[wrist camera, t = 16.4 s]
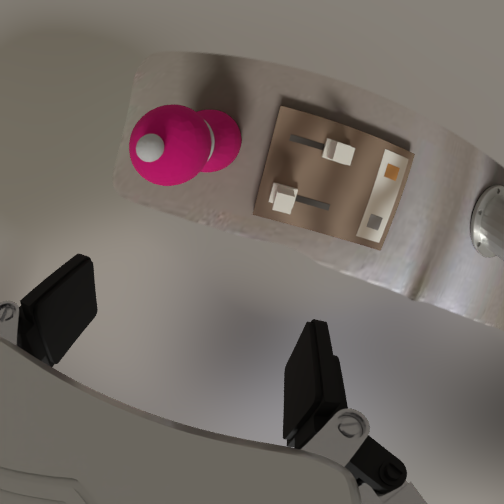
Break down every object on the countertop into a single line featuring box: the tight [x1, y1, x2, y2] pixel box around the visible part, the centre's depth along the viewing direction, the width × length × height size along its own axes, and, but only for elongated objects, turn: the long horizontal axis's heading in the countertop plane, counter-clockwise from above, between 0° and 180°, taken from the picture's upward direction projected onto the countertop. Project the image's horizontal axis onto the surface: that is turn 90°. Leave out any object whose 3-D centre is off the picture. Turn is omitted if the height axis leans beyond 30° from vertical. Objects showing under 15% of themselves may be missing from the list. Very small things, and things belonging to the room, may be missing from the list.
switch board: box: [253, 106, 415, 250], centre depth 32 cm, size 18×14×2 cm
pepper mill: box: [129, 105, 241, 186], centre depth 23 cm, size 7×7×20 cm
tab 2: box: [321, 138, 355, 166], centre depth 28 cm, size 3×2×4 cm
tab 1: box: [269, 182, 298, 214], centre depth 31 cm, size 3×2×4 cm
